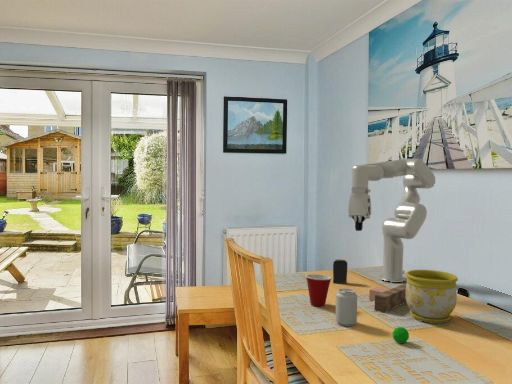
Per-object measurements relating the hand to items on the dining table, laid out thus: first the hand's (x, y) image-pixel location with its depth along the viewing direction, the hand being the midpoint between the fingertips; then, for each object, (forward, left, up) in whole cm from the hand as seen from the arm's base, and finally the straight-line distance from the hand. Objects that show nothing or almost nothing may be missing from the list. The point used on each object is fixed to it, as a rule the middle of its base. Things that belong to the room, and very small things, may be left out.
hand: (358, 230), depth 206 cm
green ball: (+50, +45, -27) cm, 73 cm away
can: (+47, +23, -27) cm, 59 cm away
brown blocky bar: (+12, +25, -27) cm, 39 cm away
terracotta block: (+13, +19, -27) cm, 36 cm away
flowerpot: (+19, +42, -27) cm, 54 cm away
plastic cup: (+36, +3, -27) cm, 45 cm away
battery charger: (-2, -11, -27) cm, 30 cm away
